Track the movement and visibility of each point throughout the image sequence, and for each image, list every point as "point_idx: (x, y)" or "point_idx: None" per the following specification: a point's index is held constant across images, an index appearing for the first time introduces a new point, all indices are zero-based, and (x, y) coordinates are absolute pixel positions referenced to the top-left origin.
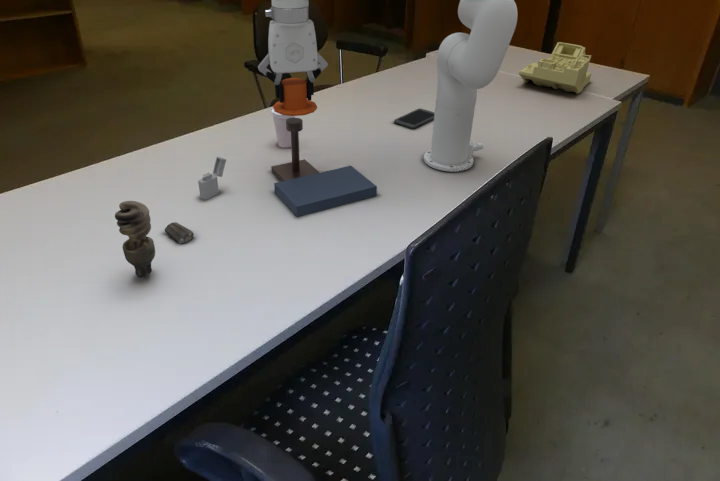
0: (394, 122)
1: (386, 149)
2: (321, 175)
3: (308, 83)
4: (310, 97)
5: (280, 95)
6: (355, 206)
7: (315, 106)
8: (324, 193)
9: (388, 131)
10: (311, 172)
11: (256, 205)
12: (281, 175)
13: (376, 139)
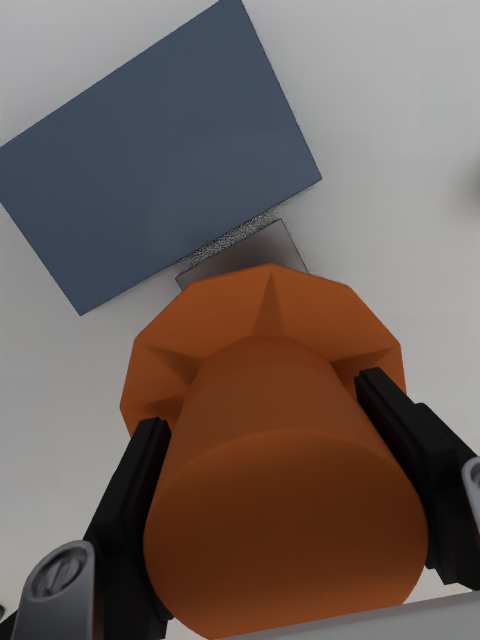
0: (2, 611)
1: (6, 464)
2: (168, 240)
3: (121, 526)
4: (142, 428)
5: (397, 390)
6: (55, 94)
7: (129, 404)
8: (146, 100)
9: (15, 565)
10: None
11: (369, 93)
12: (299, 262)
13: (42, 520)
